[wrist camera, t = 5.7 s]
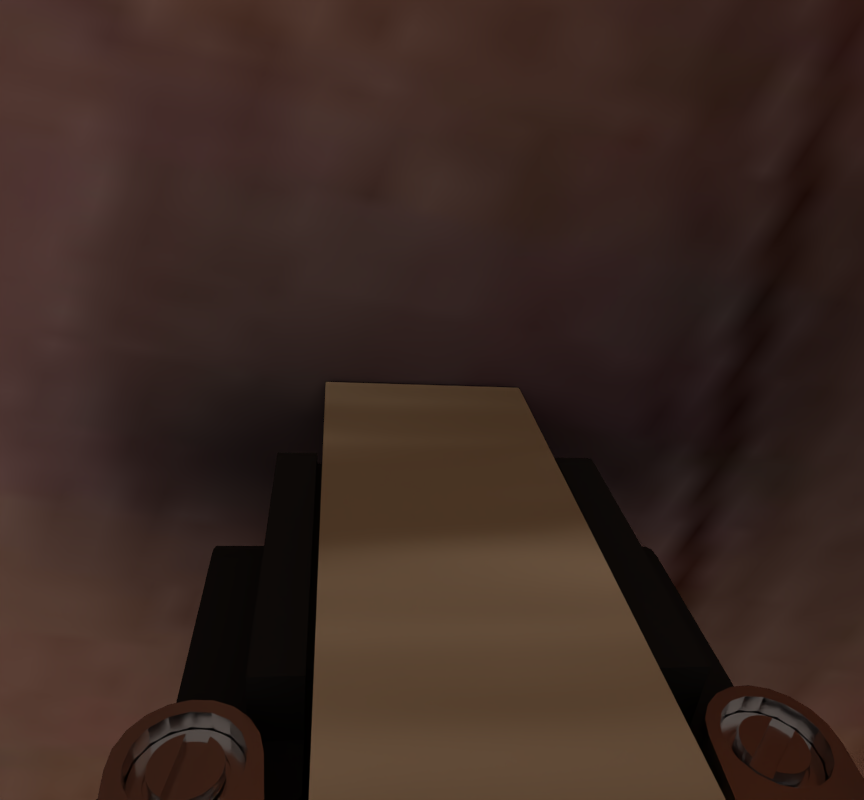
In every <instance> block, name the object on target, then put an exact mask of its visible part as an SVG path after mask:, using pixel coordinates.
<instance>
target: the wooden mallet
mask: <svg viewBox="0 0 864 800" xmlns="http://www.w3.org/2000/svg"><path fill="white" fill-rule="evenodd" d="M309 800H726V799H725V797H724V795H723V793H722V791H721V789H720V787H719V785H718V783H717V781H716V779H715V777H714V775H713V773H712V771H711V769H710V767H709V765H708V763H707V761H706V759H705V757H704V755H703V753H702V751H701V749H700V747H699V745H698V744H697V742H696V740H695V738H694V736H693V734H692V732H691V730H690V728H689V726H688V724H687V722H686V720H685V718H684V716H683V714H682V712H681V710H680V708H679V706H678V704H677V702H676V700H675V698H674V696H673V694H672V692H671V690H670V688H669V686H668V684H667V682H666V680H665V678H664V676H663V674H662V672H661V670H660V668H659V666H658V664H657V662H656V660H655V658H654V656H653V654H652V652H651V650H650V648H649V646H648V644H647V642H646V640H645V638H644V636H643V634H642V632H641V630H640V628H639V626H638V624H637V622H636V620H635V618H634V616H633V614H632V612H631V610H630V608H629V606H628V604H627V602H626V600H625V598H624V596H623V594H622V592H621V590H620V588H619V586H618V584H617V582H616V580H615V578H614V576H613V574H612V572H611V570H610V568H609V566H608V564H607V562H606V560H605V558H604V556H603V554H602V552H601V550H600V548H599V546H598V544H597V542H596V540H595V538H594V536H593V534H592V532H591V530H590V528H589V526H588V524H587V522H586V520H585V518H584V516H583V514H582V513H581V511H580V509H579V507H578V505H577V503H576V501H575V499H574V497H573V495H572V493H571V491H570V489H569V487H568V485H567V483H566V481H565V479H564V477H563V475H562V473H561V471H560V469H559V467H558V465H557V463H556V461H555V459H554V457H553V455H552V453H551V451H550V449H549V447H548V445H547V443H546V441H545V439H544V437H543V435H542V433H541V431H540V429H539V427H538V425H537V423H536V421H535V419H534V417H533V415H532V413H531V411H530V409H529V407H528V405H527V403H526V401H525V399H524V397H523V395H522V393H521V391H520V389H519V388H511V387H478V386H445V385H412V384H379V383H346V382H326V387H325V411H324V436H323V461H322V485H321V510H320V534H319V559H318V583H317V608H316V632H315V657H314V681H313V706H312V730H311V755H310V779H309Z"/></svg>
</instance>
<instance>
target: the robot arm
mask: <svg viewBox="0 0 864 800" xmlns="http://www.w3.org/2000/svg"><path fill="white" fill-rule="evenodd" d="M554 459H555V461H556V463H557V465H558V467H559V469H560V471H561V473H562V475H563V477H564V479H565V481H566V483H567V485H568V487H569V489H570V491H571V493H572V495H573V497H574V499H575V501H576V503H577V505H578V507H579V509H580V511H581V513H582V514H583V516H584V518H585V520H586V522H587V524H588V526H589V528H590V530H591V532H592V534H593V536H594V538H595V540H596V542H597V544H598V546H599V548H600V550H601V552H602V554H603V556H604V558H605V560H606V562H607V564H608V566H609V568H610V570H611V572H612V574H613V576H614V578H615V580H616V582H617V584H618V586H619V588H620V590H621V592H622V594H623V596H624V598H625V600H626V602H627V604H628V606H629V608H630V610H631V612H632V614H633V616H634V618H635V620H636V622H637V624H638V626H639V628H640V630H641V632H642V634H643V636H644V638H645V640H646V642H647V644H648V646H649V648H650V650H651V652H652V654H653V656H654V658H655V660H656V662H657V664H658V666H659V668H660V670H661V672H662V674H663V676H664V678H665V680H666V682H667V684H668V686H669V688H670V690H671V692H672V694H673V696H674V698H675V700H676V702H677V704H678V706H679V708H680V710H681V712H682V714H683V716H684V718H685V720H686V722H687V724H688V726H689V728H690V730H691V732H692V734H693V736H694V738H695V740H696V742H697V744H698V745H699V747H700V749H701V751H702V753H703V755H704V757H705V759H706V761H707V763H708V765H709V767H710V769H711V771H712V773H713V775H714V777H715V779H716V781H717V783H718V785H719V787H720V789H721V791H722V793H723V795H724V797H725V799H726V800H864V778H863V777H862V775H861V773H860V772H859V770H858V768H857V767H856V765H855V763H854V762H853V760H852V758H851V757H850V755H849V753H848V752H847V750H846V748H845V747H844V745H843V743H842V742H841V741H840V739H839V738H838V737H837V735H836V734H835V733H834V731H833V730H832V729H831V728H830V726H829V725H828V724H827V723H826V722H825V721H824V720H822V719H821V718H820V717H819V716H818V715H817V714H815V713H814V712H813V711H812V710H811V709H809V708H808V707H806V706H804V705H803V704H801V703H799V702H798V701H796V700H794V699H793V698H791V697H789V696H787V695H784V694H781V693H779V692H776V691H773V690H771V689H767V688H761V687H755V686H749V685H747V686H735V687H734V686H733V684H732V682H731V681H730V679H729V677H728V676H727V674H726V672H725V671H724V669H723V667H722V665H721V664H720V662H719V660H718V659H717V657H716V655H715V654H714V652H713V650H712V649H711V647H710V645H709V644H708V642H707V640H706V638H705V637H704V635H703V633H702V632H701V630H700V628H699V627H698V625H697V623H696V622H695V620H694V618H693V617H692V615H691V613H690V611H689V610H688V608H687V606H686V605H685V603H684V601H683V600H682V598H681V596H680V595H679V593H678V591H677V590H676V588H675V586H674V584H673V583H672V581H671V579H670V578H669V576H668V574H667V573H666V571H665V569H664V568H663V566H662V564H661V563H660V561H659V559H658V557H657V556H656V555H655V554H654V552H653V551H652V550H651V549H649V548H647V547H642V546H641V545H640V543H639V541H638V539H637V538H636V536H635V534H634V532H633V531H632V529H631V527H630V526H629V524H628V522H627V520H626V519H625V517H624V515H623V513H622V512H621V510H620V508H619V506H618V505H617V503H616V501H615V499H614V498H613V496H612V494H611V492H610V491H609V489H608V487H607V485H606V484H605V482H604V480H603V479H602V477H601V475H600V473H599V472H598V470H597V468H596V466H595V465H594V463H593V462H592V460H591V459H588V458H554ZM321 485H322V464H317V453H278V455H277V461H276V468H275V475H274V482H273V489H272V496H271V503H270V510H269V517H268V524H267V531H266V538H265V545H264V546H216V547H215V548H214V550H213V553H212V557H211V561H210V565H209V569H208V573H207V577H206V582H205V586H204V590H203V594H202V598H201V602H200V607H199V611H198V615H197V619H196V623H195V628H194V632H193V636H192V640H191V644H190V648H189V653H188V657H187V661H186V665H185V669H184V673H183V678H182V682H181V686H180V690H179V694H178V699H177V703H174V704H170V705H167V706H165V707H163V708H160V709H158V710H156V711H154V712H152V713H150V714H147V715H146V716H144V717H143V718H142V719H140V720H139V721H138V722H137V723H135V724H134V725H133V726H131V727H130V728H129V729H128V730H126V732H125V733H124V734H123V735H122V737H121V738H120V739H119V741H118V742H117V743H116V744H115V746H114V747H113V748H112V750H111V752H110V755H109V758H108V760H107V763H106V765H105V768H104V770H103V775H102V780H101V785H100V789H99V794H98V799H97V800H309V779H310V755H311V730H312V706H313V681H314V657H315V632H316V608H317V583H318V559H319V534H320V510H321Z"/></svg>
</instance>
